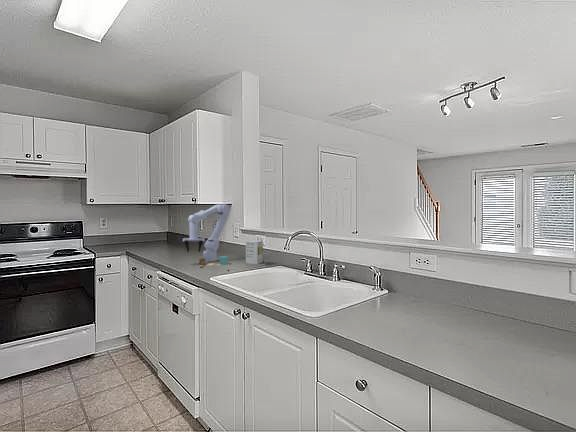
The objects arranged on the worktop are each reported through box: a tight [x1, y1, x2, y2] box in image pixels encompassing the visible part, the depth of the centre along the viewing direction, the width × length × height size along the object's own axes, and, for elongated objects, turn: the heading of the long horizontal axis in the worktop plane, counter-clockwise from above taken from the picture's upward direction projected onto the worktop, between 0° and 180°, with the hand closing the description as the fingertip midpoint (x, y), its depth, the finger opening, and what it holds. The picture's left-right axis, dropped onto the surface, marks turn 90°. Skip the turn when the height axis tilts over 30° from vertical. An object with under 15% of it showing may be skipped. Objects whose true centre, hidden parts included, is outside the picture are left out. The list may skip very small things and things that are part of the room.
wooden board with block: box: [198, 257, 231, 268], centre depth 233 cm, size 20×8×5 cm, turn 96°
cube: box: [219, 255, 229, 266], centre depth 233 cm, size 5×5×5 cm
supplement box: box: [245, 240, 264, 265], centre depth 240 cm, size 10×9×17 cm
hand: (193, 251), depth 237 cm, fingers open, 7 cm apart
